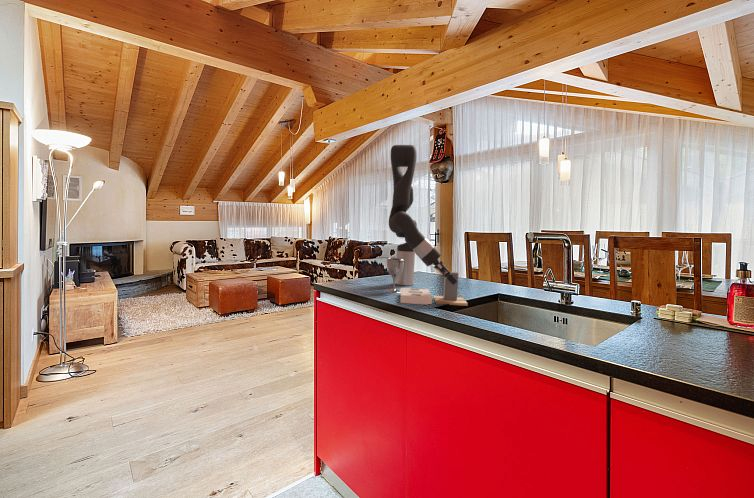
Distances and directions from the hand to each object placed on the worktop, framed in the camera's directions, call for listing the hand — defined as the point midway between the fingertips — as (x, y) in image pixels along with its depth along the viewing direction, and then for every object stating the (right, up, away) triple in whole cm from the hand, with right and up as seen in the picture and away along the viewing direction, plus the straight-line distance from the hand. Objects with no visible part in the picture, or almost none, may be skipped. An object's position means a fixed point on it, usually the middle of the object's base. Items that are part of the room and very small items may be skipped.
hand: (453, 281), depth 150 cm
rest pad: (-1, -8, 0) cm, 8 cm away
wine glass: (-23, -6, +19) cm, 31 cm away
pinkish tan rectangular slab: (-15, -7, +2) cm, 17 cm away
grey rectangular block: (-1, -7, 0) cm, 7 cm away
